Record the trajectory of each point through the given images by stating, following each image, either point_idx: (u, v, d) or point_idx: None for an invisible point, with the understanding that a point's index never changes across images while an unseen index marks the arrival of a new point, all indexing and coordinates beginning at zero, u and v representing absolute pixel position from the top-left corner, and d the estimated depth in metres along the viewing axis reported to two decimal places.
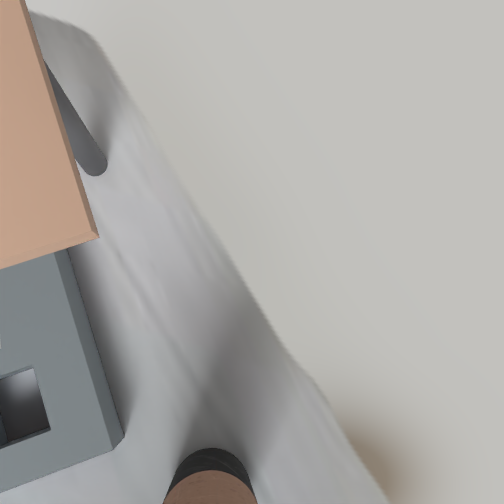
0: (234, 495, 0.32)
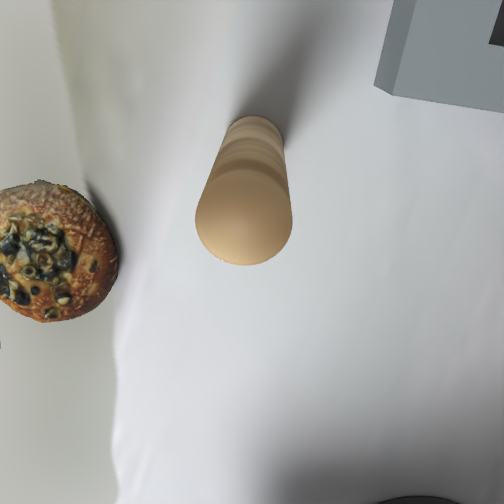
0: None
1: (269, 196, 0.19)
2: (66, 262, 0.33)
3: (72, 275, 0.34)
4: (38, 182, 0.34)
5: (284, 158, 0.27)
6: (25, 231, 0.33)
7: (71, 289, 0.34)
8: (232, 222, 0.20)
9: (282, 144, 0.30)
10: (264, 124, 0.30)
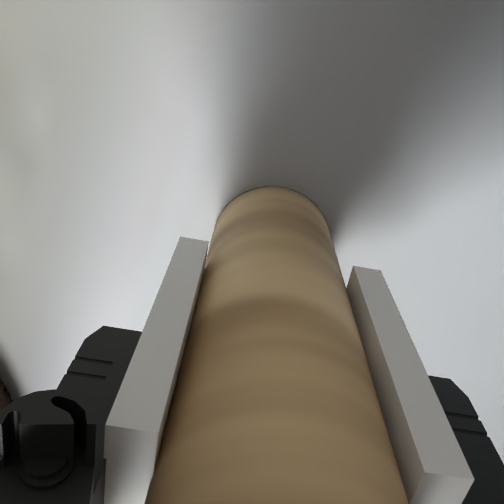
0: None
1: None
2: None
3: None
4: None
5: None
6: None
7: None
8: None
9: (336, 257, 0.14)
10: (301, 218, 0.14)
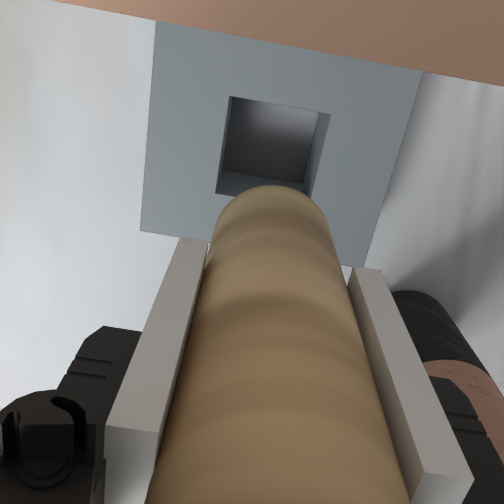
0: None
1: None
2: None
3: None
4: None
5: None
6: None
7: None
8: None
9: None
10: (302, 217, 0.14)
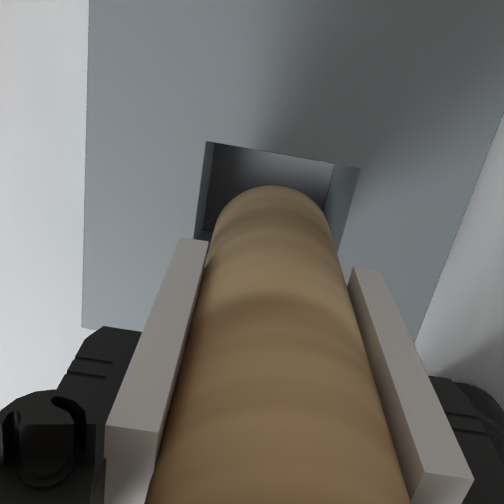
0: None
1: None
2: None
3: None
4: None
5: None
6: None
7: None
8: None
9: None
10: (302, 216, 0.14)
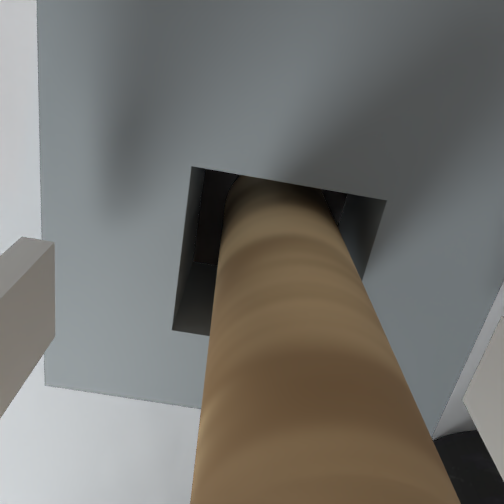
0: None
1: None
2: None
3: None
4: None
5: None
6: None
7: None
8: None
9: None
10: None
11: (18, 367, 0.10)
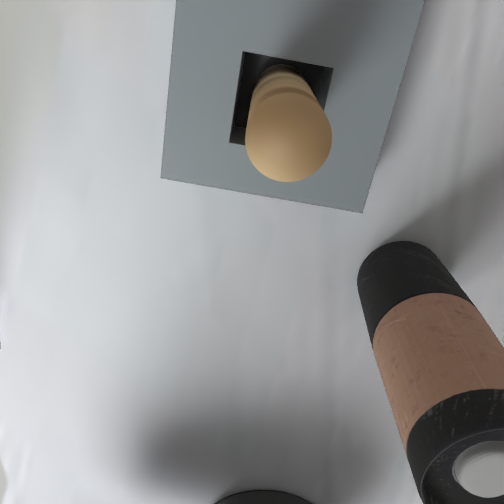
0: None
1: (313, 116, 0.22)
2: None
3: None
4: None
5: None
6: None
7: None
8: (278, 140, 0.22)
9: None
10: (294, 70, 0.32)
11: None
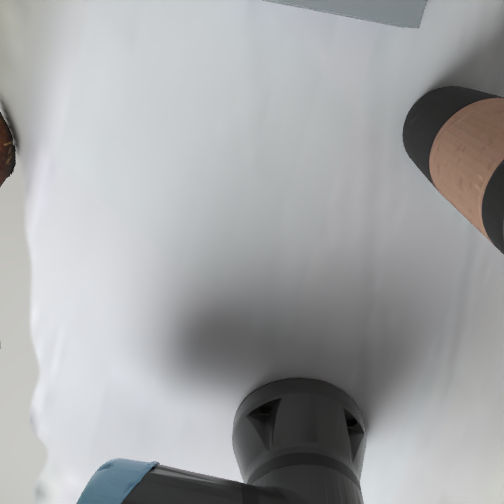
0: None
1: None
2: None
3: None
4: None
5: None
6: None
7: None
8: None
9: None
10: None
11: None
